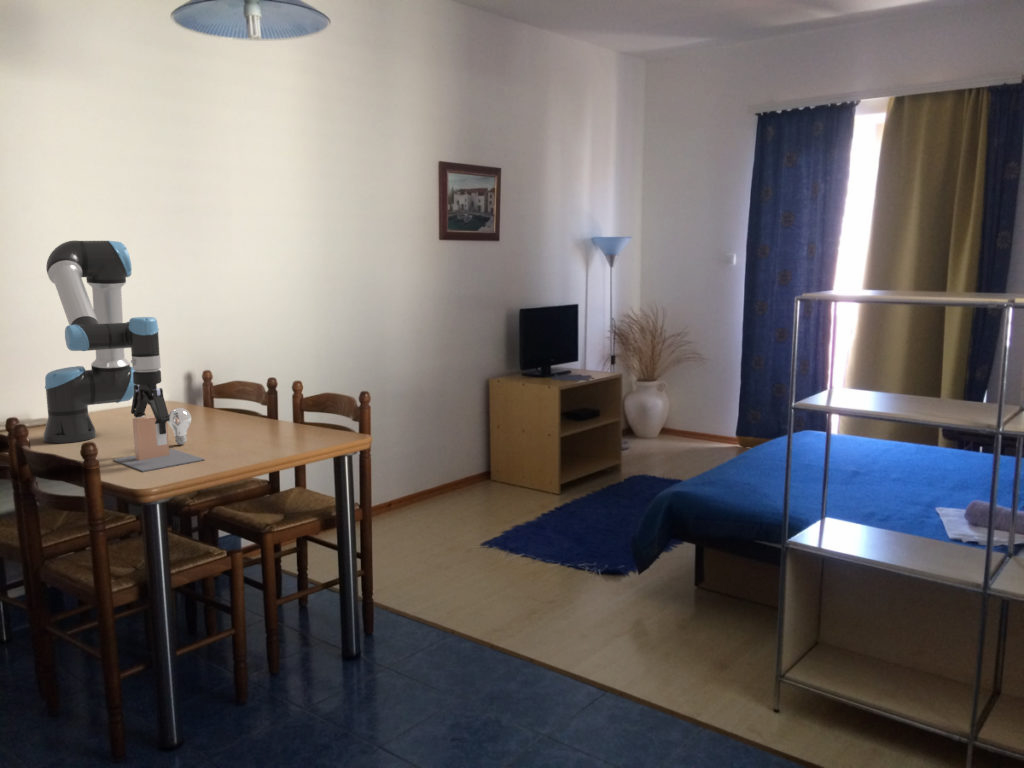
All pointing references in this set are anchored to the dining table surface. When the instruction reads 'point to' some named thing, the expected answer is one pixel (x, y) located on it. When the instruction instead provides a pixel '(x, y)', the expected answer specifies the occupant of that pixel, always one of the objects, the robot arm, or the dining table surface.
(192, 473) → the dining table surface
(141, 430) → the tile
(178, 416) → the light bulb
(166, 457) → the mat
